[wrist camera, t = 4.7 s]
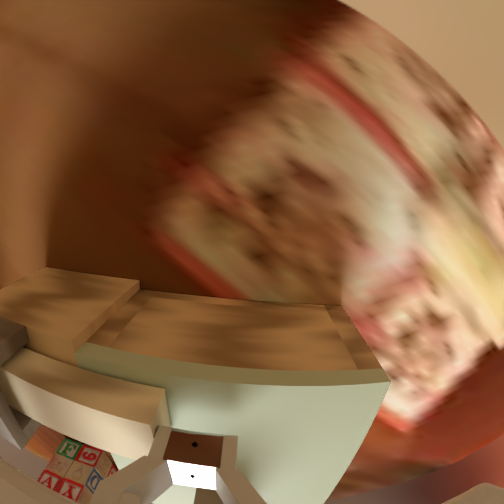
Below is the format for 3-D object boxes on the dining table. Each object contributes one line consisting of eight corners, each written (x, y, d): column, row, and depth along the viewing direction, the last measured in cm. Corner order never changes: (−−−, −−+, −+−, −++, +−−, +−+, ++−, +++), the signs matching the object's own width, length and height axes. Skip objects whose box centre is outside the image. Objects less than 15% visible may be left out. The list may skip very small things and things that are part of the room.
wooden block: (165, 388, 9) (150, 424, 7) (171, 433, 10) (161, 466, 8) (7, 340, 9) (-16, 358, 7) (23, 383, 10) (4, 402, 8)
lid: (382, 368, 10) (443, 471, 5) (313, 505, 14) (321, 566, 8) (85, 341, 10) (7, 426, 4) (138, 489, 13) (118, 547, 8)
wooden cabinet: (342, 297, 17) (437, 434, 6) (303, 443, 20) (320, 554, 9) (45, 266, 17) (-70, 328, 5) (80, 408, 20) (27, 489, 9)
